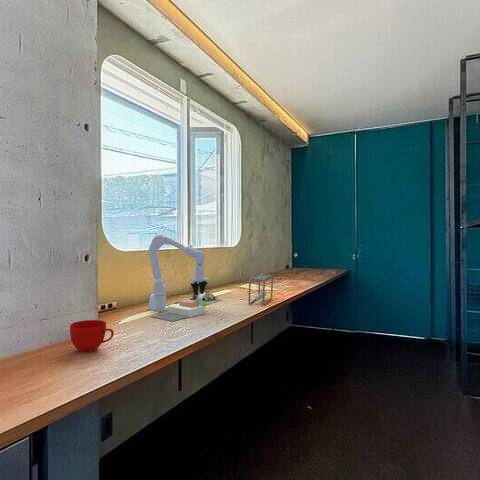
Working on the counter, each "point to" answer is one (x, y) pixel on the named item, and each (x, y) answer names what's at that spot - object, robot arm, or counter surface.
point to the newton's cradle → (260, 294)
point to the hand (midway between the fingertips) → (198, 294)
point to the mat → (169, 317)
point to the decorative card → (204, 298)
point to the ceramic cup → (88, 334)
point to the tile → (189, 303)
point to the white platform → (185, 310)
